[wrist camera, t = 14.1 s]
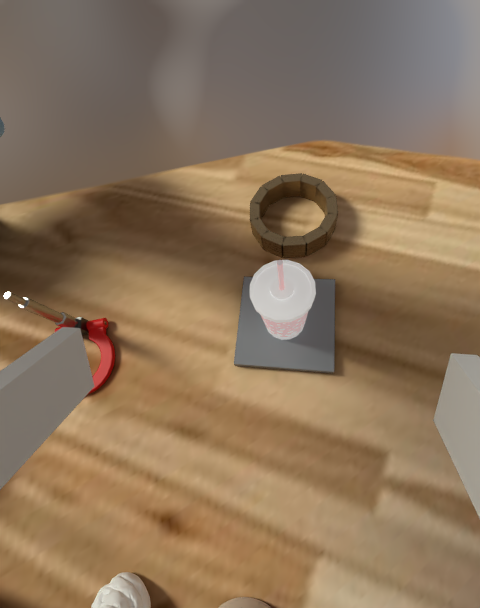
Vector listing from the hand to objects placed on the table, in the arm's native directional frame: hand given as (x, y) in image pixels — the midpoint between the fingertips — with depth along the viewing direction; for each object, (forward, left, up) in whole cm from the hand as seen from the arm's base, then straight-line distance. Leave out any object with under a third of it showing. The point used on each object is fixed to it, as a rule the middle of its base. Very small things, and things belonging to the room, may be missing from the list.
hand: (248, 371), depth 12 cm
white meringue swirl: (-4, -22, -27) cm, 35 cm away
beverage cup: (-5, +10, -25) cm, 28 cm away
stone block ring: (-10, +23, -26) cm, 36 cm away
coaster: (-5, +10, -26) cm, 28 cm away
